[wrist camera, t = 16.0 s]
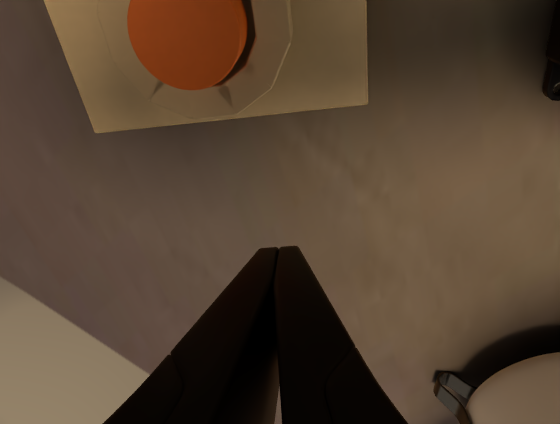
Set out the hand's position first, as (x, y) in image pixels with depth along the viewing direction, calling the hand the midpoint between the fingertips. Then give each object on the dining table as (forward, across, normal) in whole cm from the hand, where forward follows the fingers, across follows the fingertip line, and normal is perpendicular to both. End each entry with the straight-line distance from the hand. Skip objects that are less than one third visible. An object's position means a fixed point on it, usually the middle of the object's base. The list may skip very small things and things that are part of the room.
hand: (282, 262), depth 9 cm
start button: (+8, +3, -4) cm, 10 cm away
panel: (+12, +3, -4) cm, 13 cm away
